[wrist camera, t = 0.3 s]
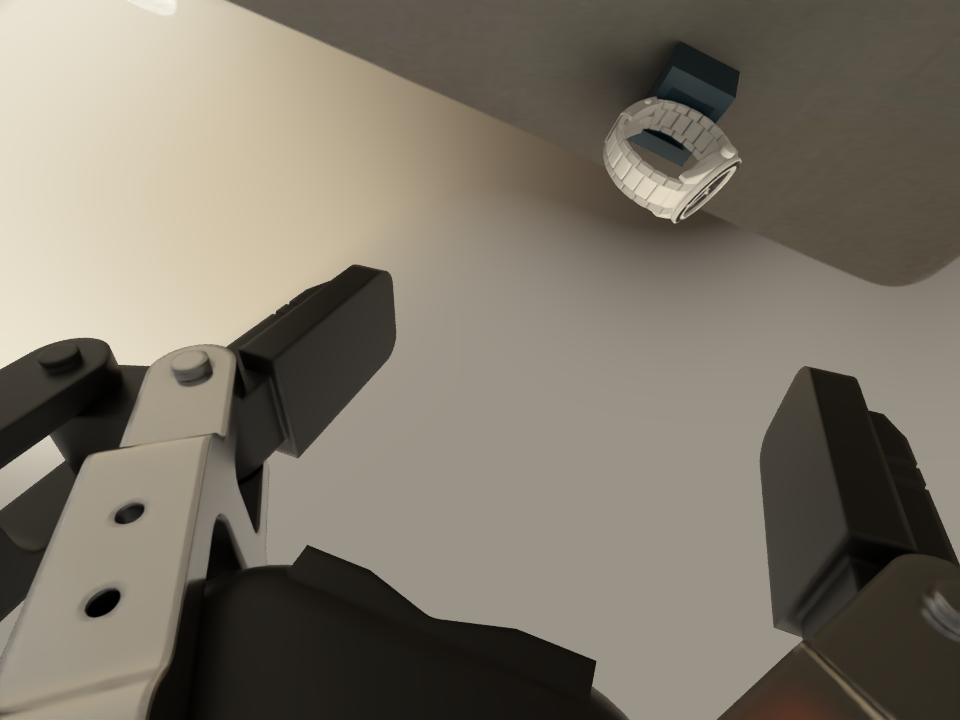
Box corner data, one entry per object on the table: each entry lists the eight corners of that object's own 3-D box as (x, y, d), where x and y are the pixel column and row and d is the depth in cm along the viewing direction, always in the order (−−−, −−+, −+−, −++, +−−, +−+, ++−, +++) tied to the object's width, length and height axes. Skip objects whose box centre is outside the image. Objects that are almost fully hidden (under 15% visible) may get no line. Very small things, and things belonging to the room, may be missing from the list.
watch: (711, 153, 38) (691, 255, 32) (614, 104, 37) (577, 199, 32) (767, 84, 33) (755, 190, 27) (656, 27, 33) (622, 123, 27)
